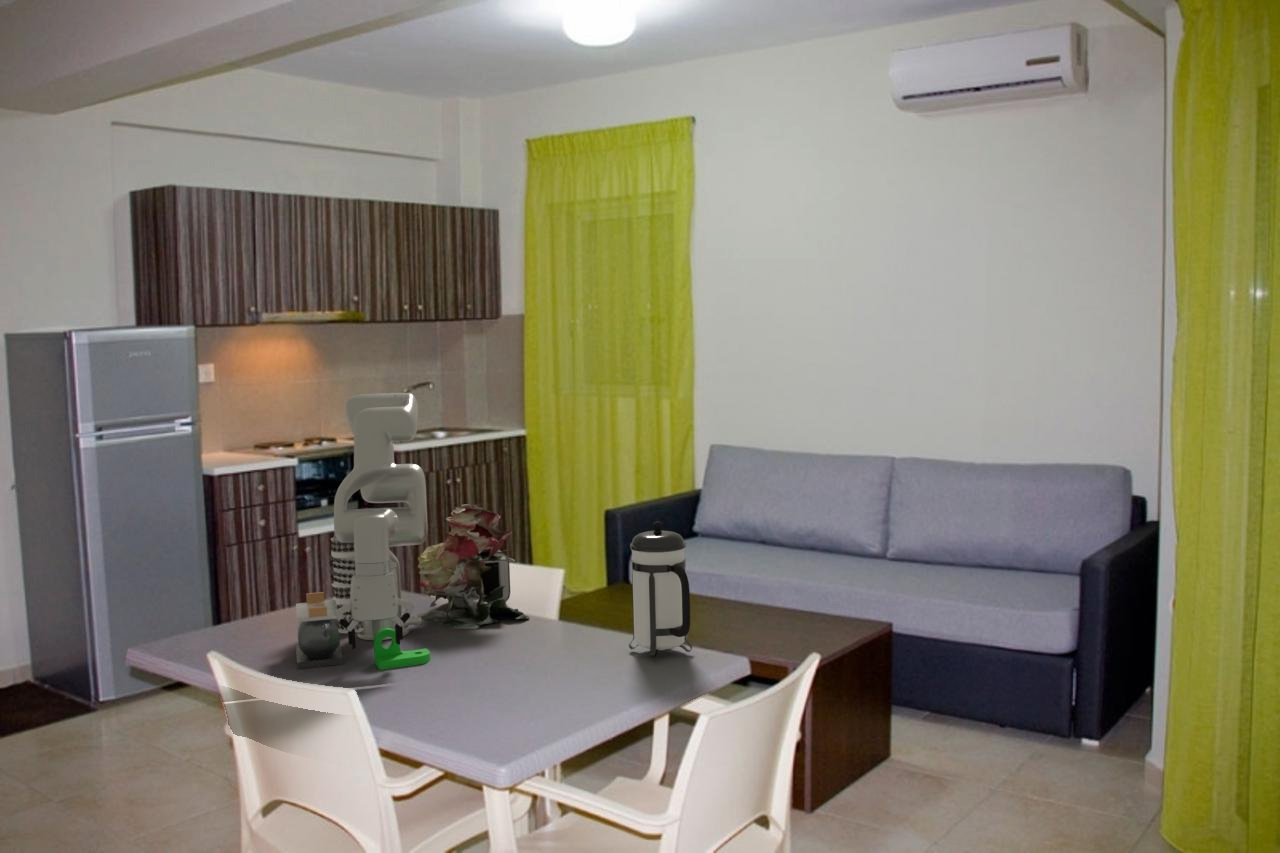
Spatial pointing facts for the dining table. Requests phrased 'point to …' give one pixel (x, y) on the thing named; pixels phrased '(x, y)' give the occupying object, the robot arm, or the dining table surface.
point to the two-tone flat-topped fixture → (317, 633)
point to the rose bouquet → (465, 569)
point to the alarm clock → (492, 579)
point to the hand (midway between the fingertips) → (376, 645)
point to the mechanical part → (396, 652)
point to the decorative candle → (343, 577)
